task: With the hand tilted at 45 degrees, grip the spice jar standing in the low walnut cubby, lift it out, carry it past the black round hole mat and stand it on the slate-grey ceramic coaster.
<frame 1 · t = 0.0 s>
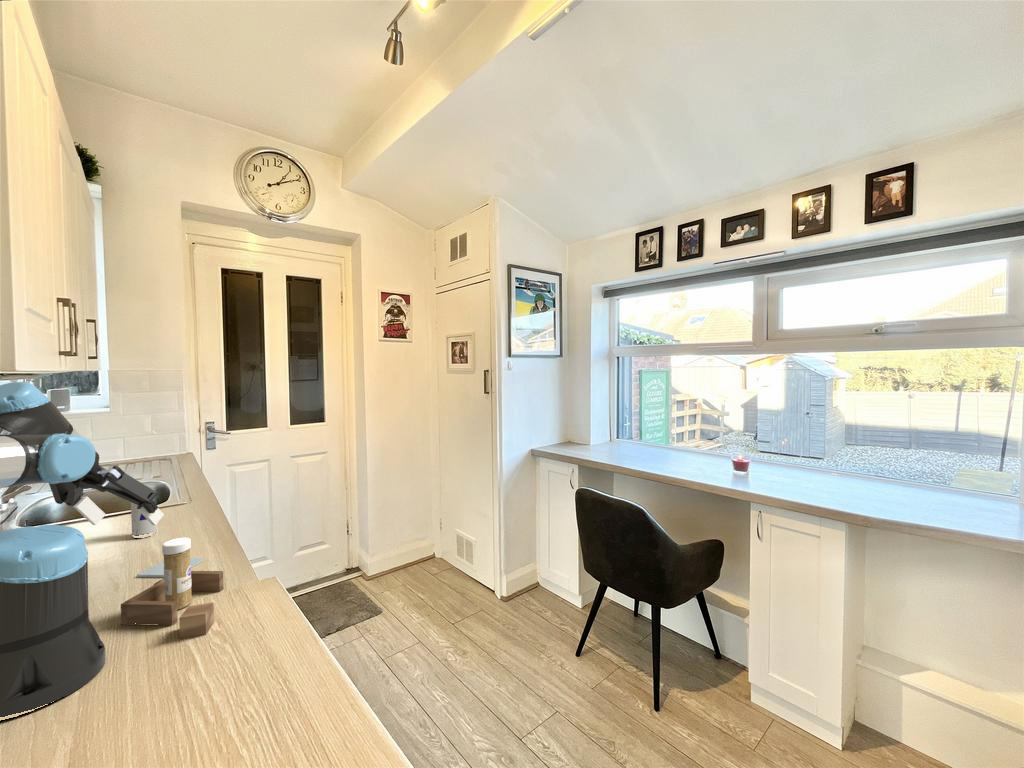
hand: (128, 519, 93), 15 cm above the countertop, tool tilted 35°, fingers open, 13 cm apart
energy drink: (144, 536, 124), on the countertop
walnut cube: (197, 631, 78), on the countertop
cubby: (176, 605, 86), on the countertop
coaster: (171, 568, 103), on the countertop
spice jar: (178, 606, 86), on the countertop
hole mat: (171, 583, 96), on the countertop
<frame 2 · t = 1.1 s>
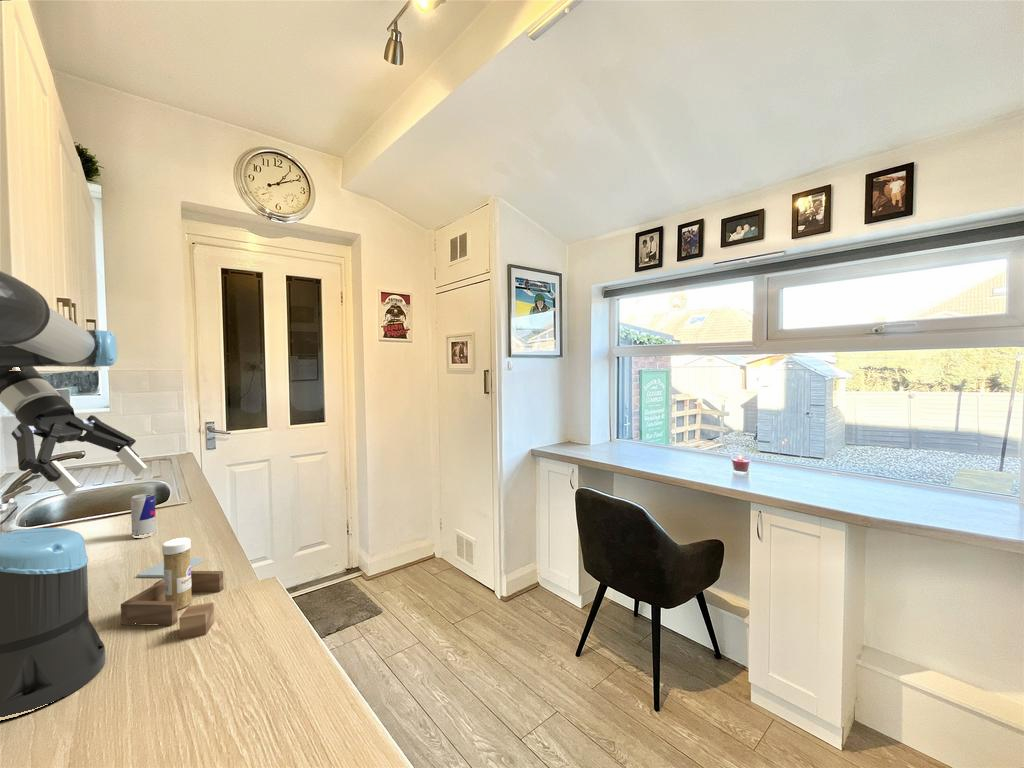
hand: (110, 480, 86), 26 cm above the countertop, tool tilted 45°, fingers open, 13 cm apart
nothing on the countertop moved.
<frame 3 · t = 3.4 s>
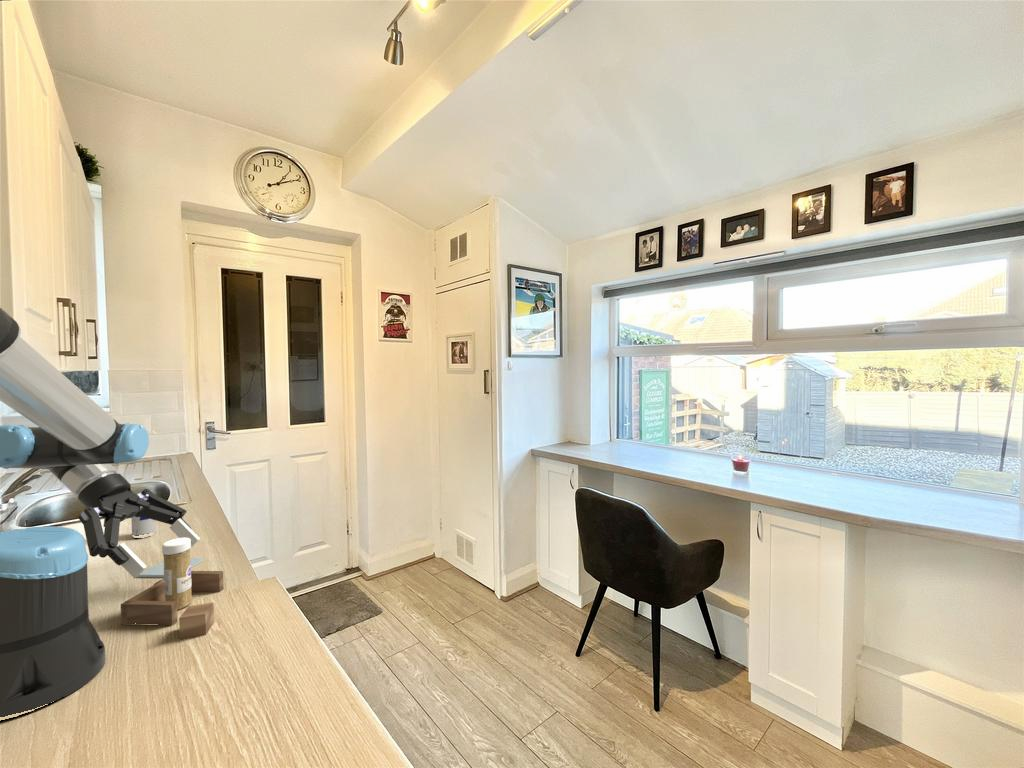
hand: (170, 557, 88), 9 cm above the countertop, tool tilted 45°, fingers open, 13 cm apart
nothing on the countertop moved.
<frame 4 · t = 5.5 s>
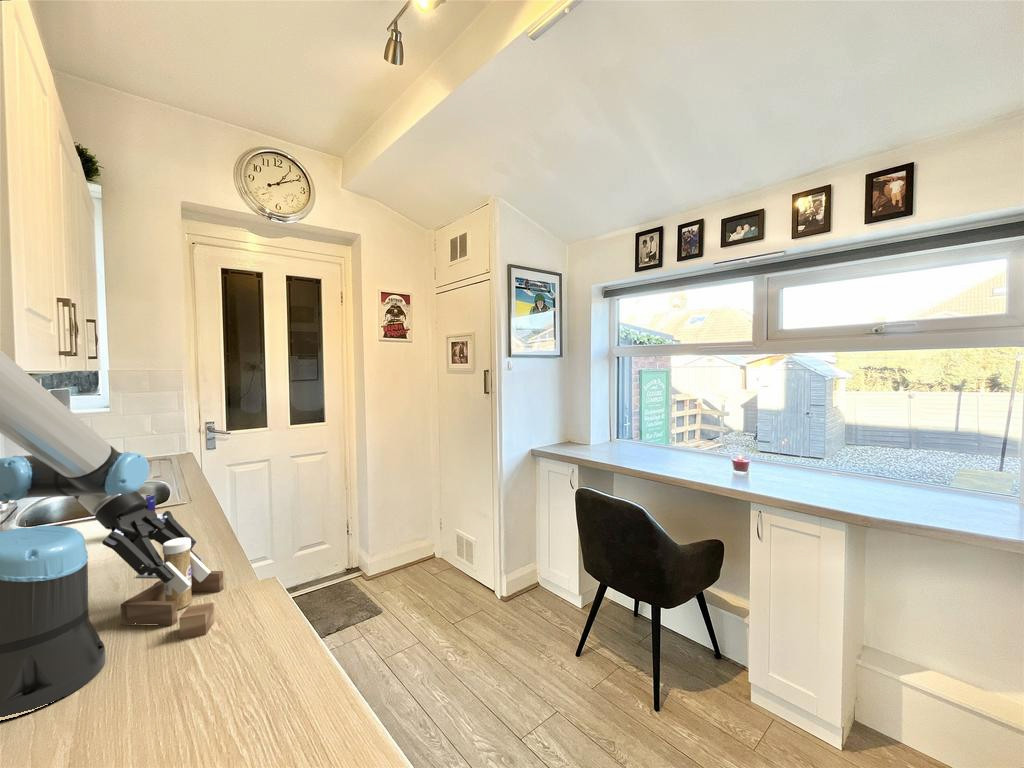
hand: (195, 583, 86), 5 cm above the countertop, tool tilted 45°, fingers closed on spice jar, 4 cm apart
spice jar: (178, 606, 86), on the countertop, touching gripper
everything else where it was.
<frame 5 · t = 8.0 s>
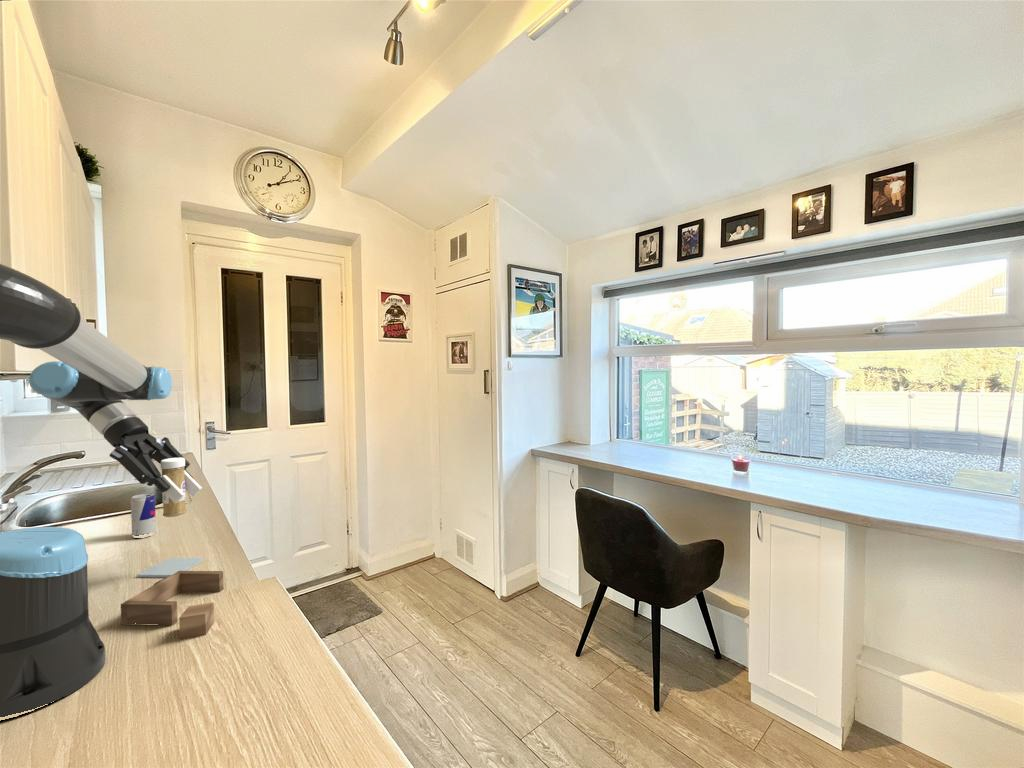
hand: (188, 495, 101), 18 cm above the countertop, tool tilted 45°, fingers closed on spice jar, 4 cm apart
spice jar: (174, 515, 101), point 14 cm above the countertop, touching gripper
everything else where it was.
when the fingers open (6 cm above the countertop, at t = 10.5 s): spice jar drops 1 cm, resting on coaster.
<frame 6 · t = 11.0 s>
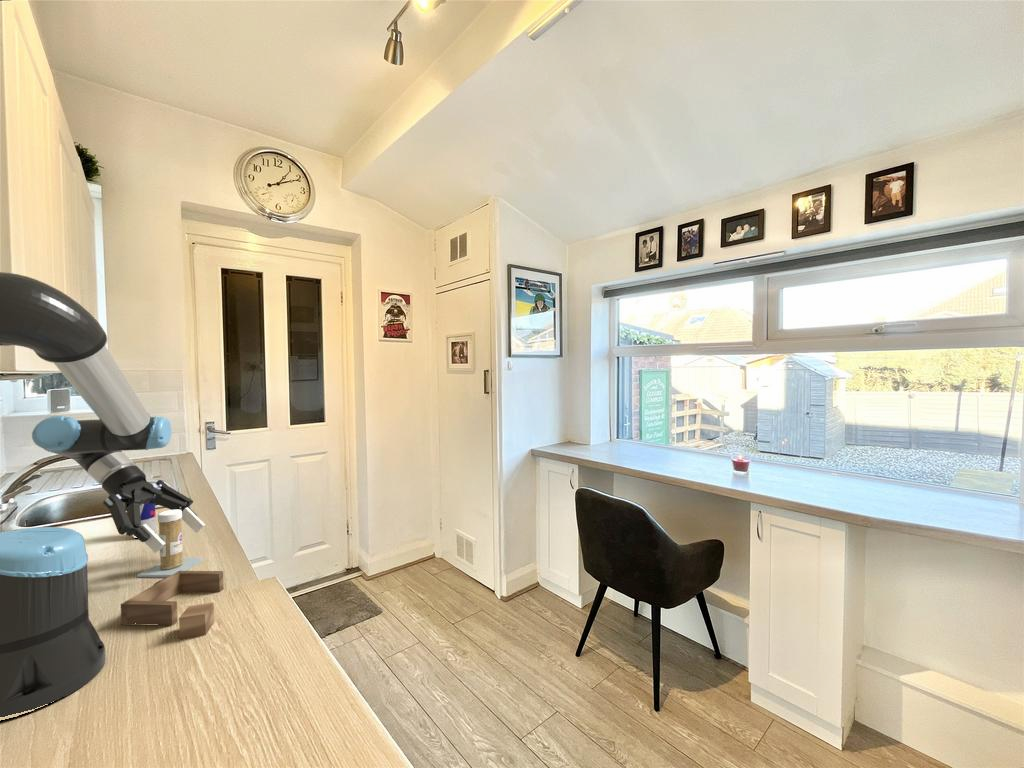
hand: (181, 538, 102), 8 cm above the countertop, tool tilted 45°, fingers open, 11 cm apart
spice jar: (171, 566, 103), resting on coaster
everything else where it was.
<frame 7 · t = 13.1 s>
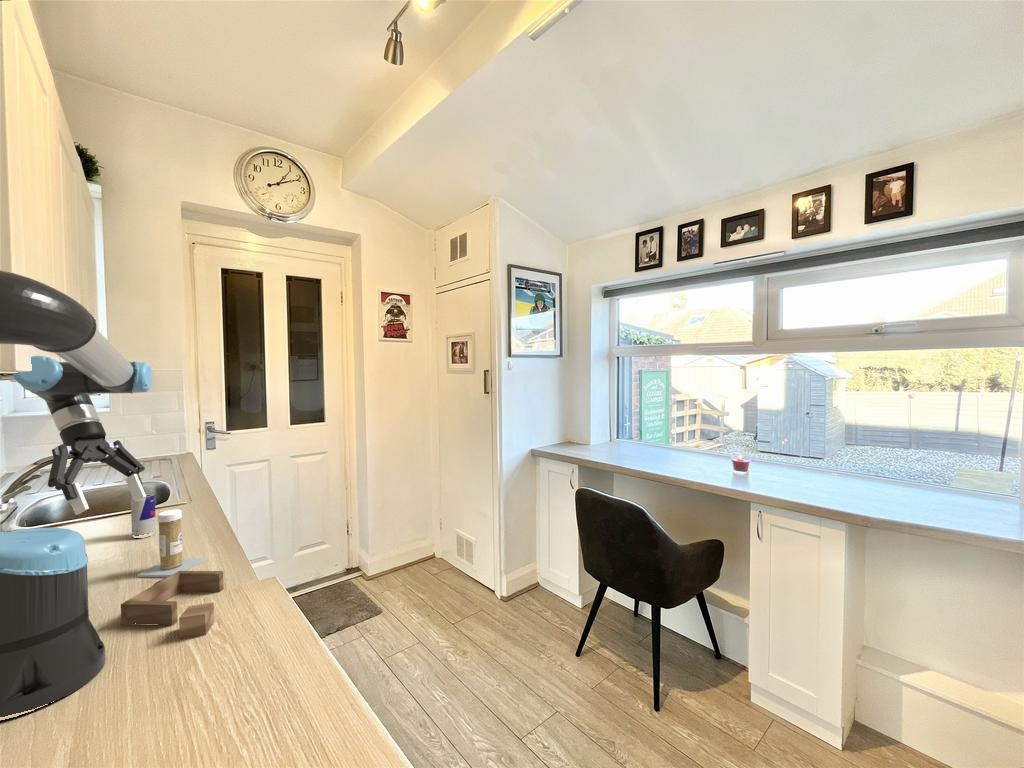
hand: (113, 505, 101), 16 cm above the countertop, tool tilted 30°, fingers open, 13 cm apart
nothing on the countertop moved.
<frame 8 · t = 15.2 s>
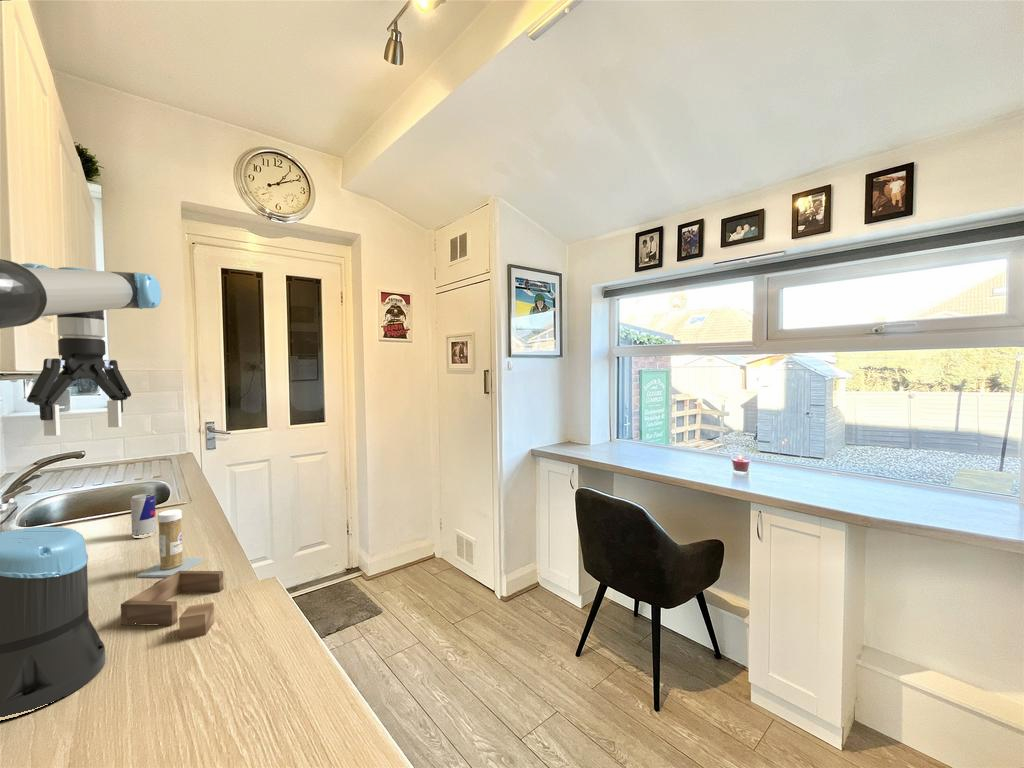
hand: (85, 431, 96), 35 cm above the countertop, tool pointing down, fingers open, 13 cm apart
nothing on the countertop moved.
at the end: spice jar inside the target area on the coaster (0.1 cm from its centre), point 0.4 cm above the coaster's base; spice jar tilted 0°; the gripper is holding nothing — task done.
